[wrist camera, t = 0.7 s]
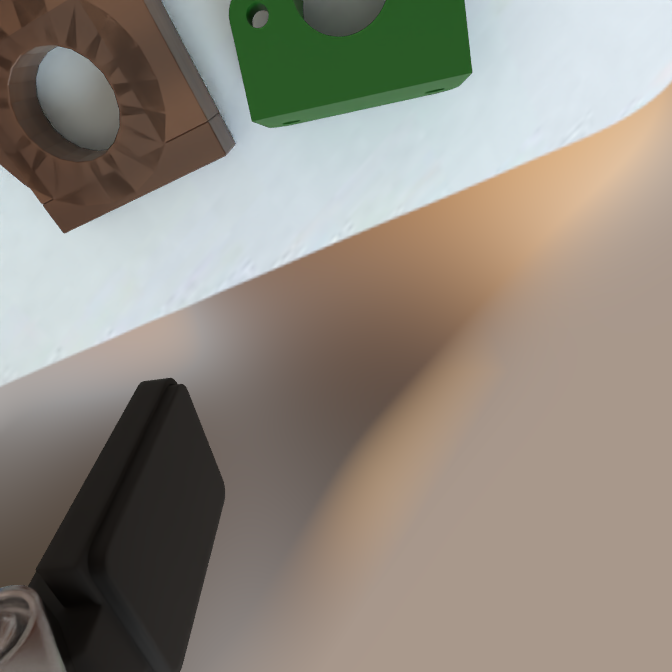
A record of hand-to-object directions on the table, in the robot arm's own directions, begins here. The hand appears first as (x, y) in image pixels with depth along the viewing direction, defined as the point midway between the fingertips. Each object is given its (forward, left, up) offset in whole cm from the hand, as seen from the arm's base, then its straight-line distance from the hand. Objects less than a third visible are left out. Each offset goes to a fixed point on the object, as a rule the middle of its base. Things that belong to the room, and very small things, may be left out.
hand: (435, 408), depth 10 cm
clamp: (-5, 0, -27) cm, 28 cm away
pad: (-11, -14, -27) cm, 32 cm away
